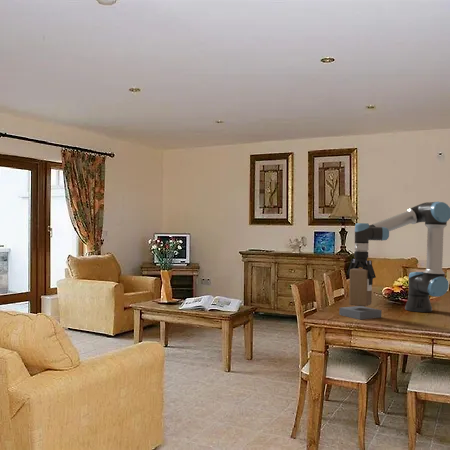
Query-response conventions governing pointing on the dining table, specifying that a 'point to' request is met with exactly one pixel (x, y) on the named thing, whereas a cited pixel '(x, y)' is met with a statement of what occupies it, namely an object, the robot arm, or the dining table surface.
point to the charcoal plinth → (360, 312)
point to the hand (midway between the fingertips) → (360, 289)
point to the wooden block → (359, 288)
